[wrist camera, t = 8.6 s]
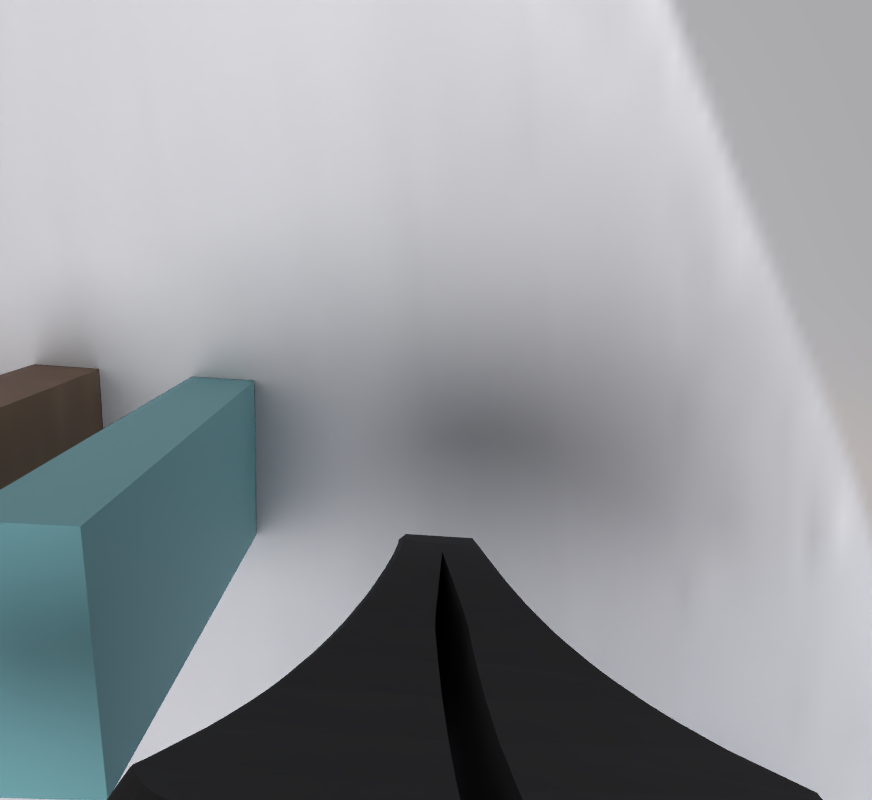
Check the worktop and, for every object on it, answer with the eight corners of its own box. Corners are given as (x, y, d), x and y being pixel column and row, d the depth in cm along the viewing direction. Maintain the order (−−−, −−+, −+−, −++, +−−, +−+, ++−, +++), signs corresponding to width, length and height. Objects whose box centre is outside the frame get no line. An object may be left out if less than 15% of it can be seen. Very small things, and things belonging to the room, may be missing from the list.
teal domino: (254, 380, 15) (80, 527, 7) (256, 534, 16) (107, 800, 8) (191, 376, 15) (-51, 520, 7) (197, 531, 16) (-7, 797, 8)
